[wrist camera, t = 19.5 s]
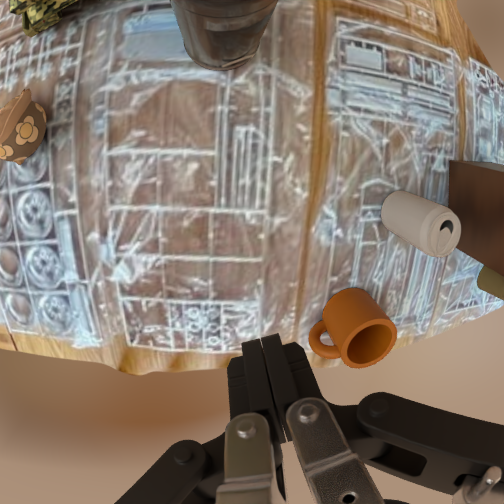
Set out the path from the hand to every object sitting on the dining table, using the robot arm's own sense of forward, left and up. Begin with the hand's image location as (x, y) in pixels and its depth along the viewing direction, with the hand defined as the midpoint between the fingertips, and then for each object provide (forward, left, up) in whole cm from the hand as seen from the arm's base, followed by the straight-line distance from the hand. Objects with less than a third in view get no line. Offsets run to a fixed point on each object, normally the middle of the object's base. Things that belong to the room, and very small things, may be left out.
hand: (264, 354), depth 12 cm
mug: (+17, +17, -29) cm, 38 cm away
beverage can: (0, +24, -29) cm, 38 cm away
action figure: (-12, -32, -29) cm, 45 cm away
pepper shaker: (+12, +52, -29) cm, 61 cm away
